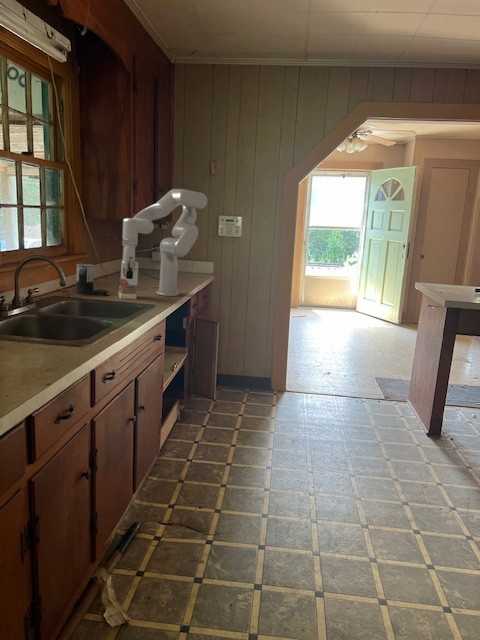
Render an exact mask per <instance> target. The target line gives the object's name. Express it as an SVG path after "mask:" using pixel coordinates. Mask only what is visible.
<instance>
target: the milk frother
mask: <svg viewBox="0 0 480 640" xmlns="http://www.w3.org/2000/svg"><path fill="white" fill-rule="evenodd" d="M94 269H95V265H94V264H89V263H77V264H76V282H75V283H76V285H75V286H76V287H75V293H77V294H82V295H83V294H84V295H91V294H94V293H95V294H102V295H106V294H108V293H109V291H108V290H106V289H98V288H97V289H94V278H95V277H94V274H95V273H94V271H95V270H94Z"/></svg>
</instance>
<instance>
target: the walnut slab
mask: <svg viewBox="0 0 480 640" xmlns="http://www.w3.org/2000/svg"><path fill="white" fill-rule="evenodd" d="M119 292H120V293H122V294H136V295H137V293H136V287H135V286H134V285H118V293H119Z"/></svg>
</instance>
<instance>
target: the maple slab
mask: <svg viewBox="0 0 480 640" xmlns="http://www.w3.org/2000/svg"><path fill="white" fill-rule="evenodd" d="M118 298H120V299H123V300H124V299H125V300H137V293H136V294H122V293H120V292H119V291H118Z"/></svg>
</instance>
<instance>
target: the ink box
mask: <svg viewBox="0 0 480 640" xmlns="http://www.w3.org/2000/svg"><path fill="white" fill-rule="evenodd" d="M128 265H130V264H128ZM128 267H129V266H128ZM126 272H127V264H126V265H124V262H123V260H122V261H121V269H120V286H138V278H139V277H138V276H139V262H138V261H135V264H134V265H133V279H127V278H126Z"/></svg>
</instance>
